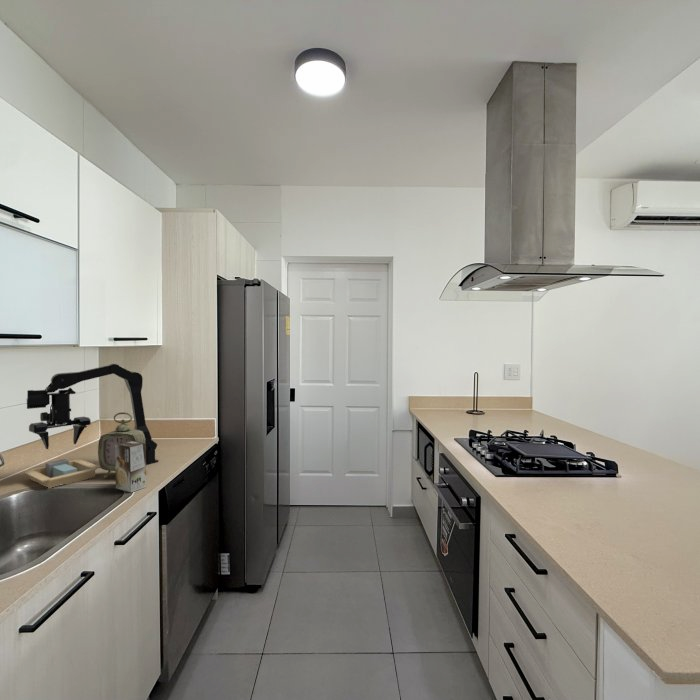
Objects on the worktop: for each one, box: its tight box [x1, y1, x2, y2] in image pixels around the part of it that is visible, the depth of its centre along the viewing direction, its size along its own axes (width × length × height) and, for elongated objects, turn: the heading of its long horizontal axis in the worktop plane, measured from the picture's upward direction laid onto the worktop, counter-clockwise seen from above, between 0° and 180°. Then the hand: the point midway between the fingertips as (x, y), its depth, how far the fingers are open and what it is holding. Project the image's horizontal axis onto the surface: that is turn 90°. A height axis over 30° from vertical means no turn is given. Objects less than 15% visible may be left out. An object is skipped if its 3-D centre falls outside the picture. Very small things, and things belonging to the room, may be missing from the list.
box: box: [45, 458, 78, 478], centre depth 155 cm, size 14×6×6 cm, turn 56°
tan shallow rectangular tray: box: [23, 459, 101, 490], centre depth 155 cm, size 21×19×4 cm
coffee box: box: [115, 441, 147, 493], centre depth 145 cm, size 9×6×16 cm
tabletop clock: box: [97, 411, 146, 479], centre depth 157 cm, size 14×9×25 cm, turn 92°
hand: (61, 446), depth 156 cm, fingers open, 9 cm apart
